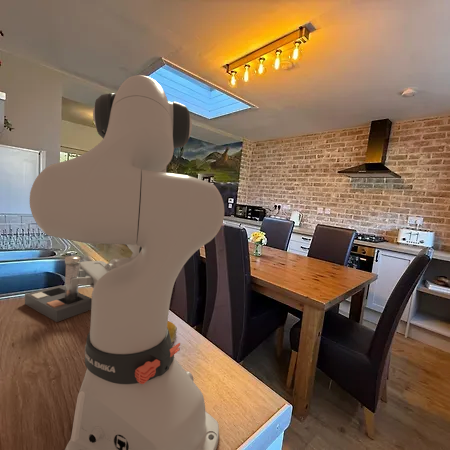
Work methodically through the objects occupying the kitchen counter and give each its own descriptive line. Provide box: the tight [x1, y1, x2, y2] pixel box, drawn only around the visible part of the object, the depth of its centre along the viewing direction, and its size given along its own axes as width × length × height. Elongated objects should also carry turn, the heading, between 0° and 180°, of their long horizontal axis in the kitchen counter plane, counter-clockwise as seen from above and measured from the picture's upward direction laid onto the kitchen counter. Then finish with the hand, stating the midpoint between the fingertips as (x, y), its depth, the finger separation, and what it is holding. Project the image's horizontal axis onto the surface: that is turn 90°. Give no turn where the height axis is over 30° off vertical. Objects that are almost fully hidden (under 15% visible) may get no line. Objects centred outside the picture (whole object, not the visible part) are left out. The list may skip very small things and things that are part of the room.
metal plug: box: [64, 255, 81, 305], centre depth 72 cm, size 4×4×14 cm
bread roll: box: [167, 320, 178, 343], centre depth 64 cm, size 8×9×4 cm
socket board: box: [24, 284, 92, 323], centre depth 74 cm, size 16×10×3 cm, turn 61°
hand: (68, 278), depth 71 cm, fingers closed on metal plug, 3 cm apart
